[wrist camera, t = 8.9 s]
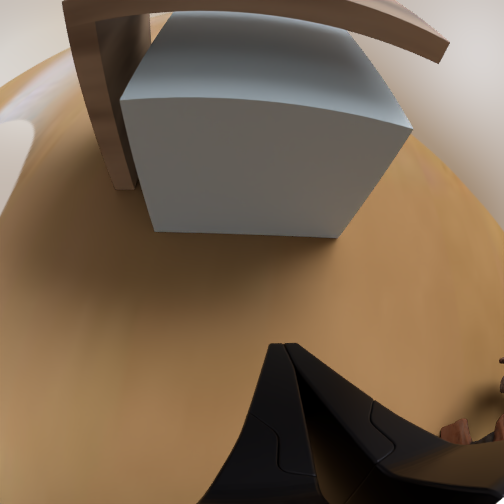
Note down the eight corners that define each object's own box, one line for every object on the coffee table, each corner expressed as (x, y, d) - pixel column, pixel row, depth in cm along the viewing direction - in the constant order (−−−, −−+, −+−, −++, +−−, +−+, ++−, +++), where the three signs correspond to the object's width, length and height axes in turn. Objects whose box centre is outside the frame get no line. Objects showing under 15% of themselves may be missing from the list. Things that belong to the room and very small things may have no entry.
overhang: (361, 227, 20) (474, 66, 8) (107, 216, 18) (34, 20, 6) (333, 124, 25) (384, -7, 13) (141, 112, 23) (127, -33, 11)
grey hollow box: (337, 238, 20) (413, 129, 11) (154, 231, 18) (119, 100, 9) (308, 110, 26) (337, 20, 17) (181, 101, 24) (179, 3, 15)
